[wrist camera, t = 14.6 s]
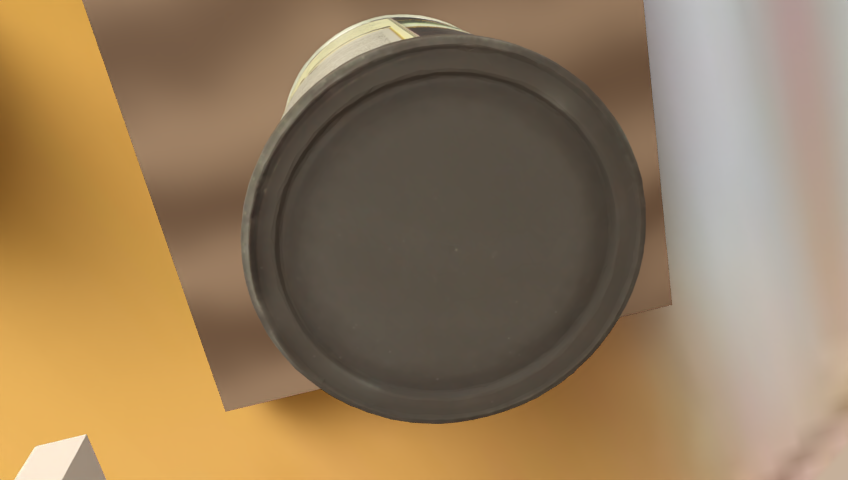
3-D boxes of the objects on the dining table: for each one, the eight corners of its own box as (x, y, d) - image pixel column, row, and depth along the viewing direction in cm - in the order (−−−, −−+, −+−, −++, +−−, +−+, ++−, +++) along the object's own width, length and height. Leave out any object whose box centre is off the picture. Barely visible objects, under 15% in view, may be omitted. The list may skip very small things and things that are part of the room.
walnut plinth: (93, -76, 32) (52, -85, 28) (582, -180, 33) (623, -206, 28) (238, 360, 40) (225, 411, 35) (633, 267, 41) (671, 304, 36)
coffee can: (511, -3, 30) (648, 10, 17) (526, 233, 34) (649, 395, 21) (259, 26, 30) (199, 64, 16) (300, 264, 33) (278, 453, 20)
